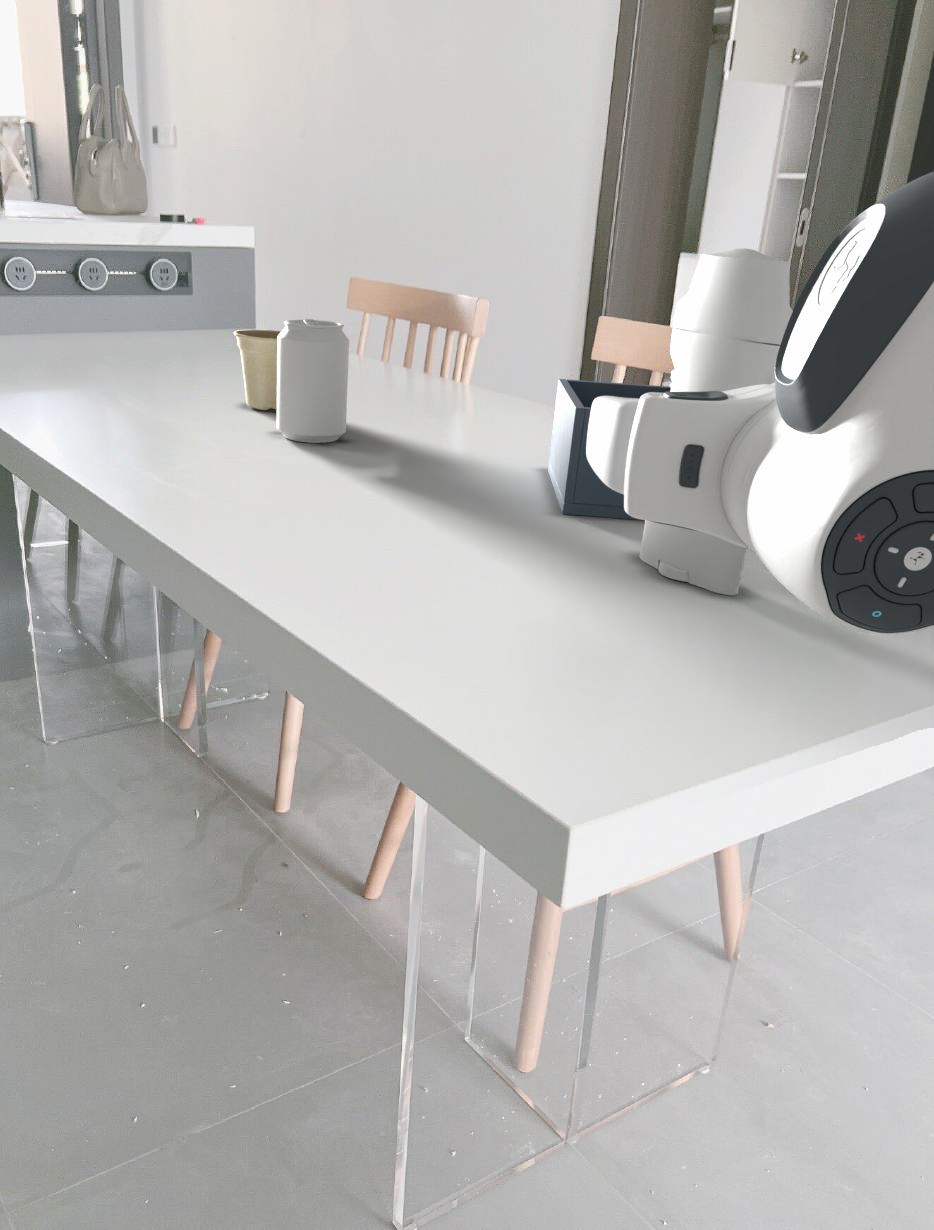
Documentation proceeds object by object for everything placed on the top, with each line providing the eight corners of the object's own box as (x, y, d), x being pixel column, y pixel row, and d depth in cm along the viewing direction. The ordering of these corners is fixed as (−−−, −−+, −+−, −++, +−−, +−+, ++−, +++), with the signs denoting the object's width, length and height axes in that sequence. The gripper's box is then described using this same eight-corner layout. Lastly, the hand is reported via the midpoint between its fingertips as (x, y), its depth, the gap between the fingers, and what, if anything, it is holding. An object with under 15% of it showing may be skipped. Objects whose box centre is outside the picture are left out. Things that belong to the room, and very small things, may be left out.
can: (289, 445, 111) (291, 324, 106) (267, 431, 117) (268, 316, 112) (355, 443, 114) (360, 325, 109) (331, 429, 120) (334, 317, 115)
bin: (662, 478, 107) (677, 386, 104) (696, 524, 91) (715, 417, 88) (547, 470, 108) (558, 378, 104) (562, 514, 92) (575, 407, 88)
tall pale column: (617, 556, 81) (665, 242, 72) (658, 551, 83) (710, 245, 74) (717, 600, 73) (786, 251, 63) (760, 594, 74) (833, 254, 65)
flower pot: (321, 406, 134) (323, 334, 131) (295, 417, 126) (296, 340, 122) (251, 398, 136) (252, 327, 133) (221, 408, 128) (221, 333, 124)
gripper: (1019, 421, 54) (913, 382, 66) (614, 393, 54) (585, 360, 66) (983, 542, 56) (888, 482, 69) (597, 515, 57) (572, 461, 69)
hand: (736, 422), depth 68 cm, fingers open, 8 cm apart
